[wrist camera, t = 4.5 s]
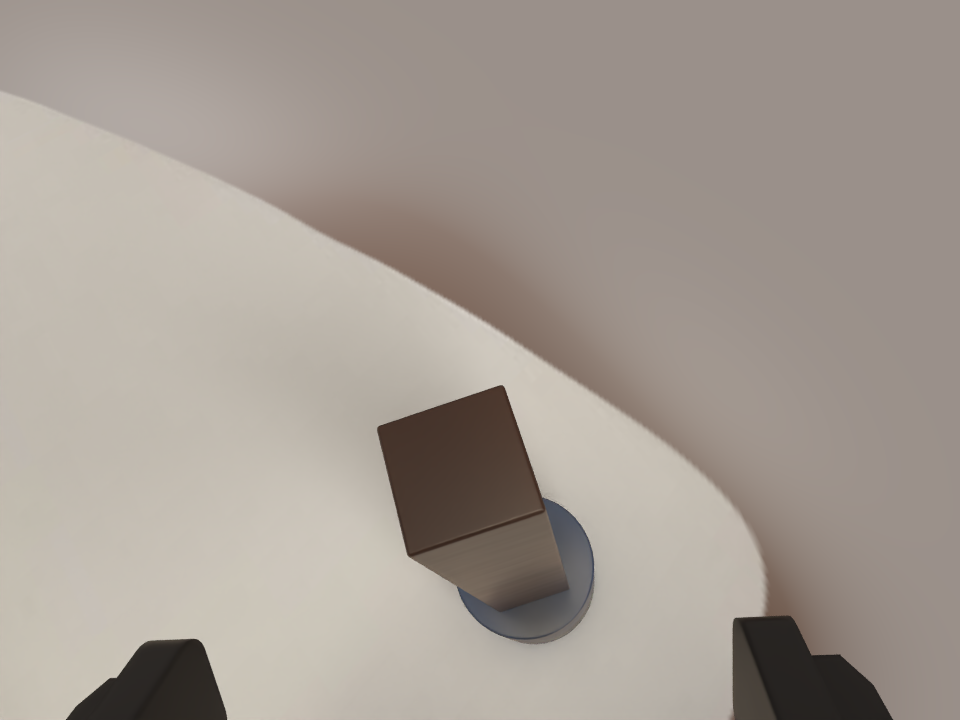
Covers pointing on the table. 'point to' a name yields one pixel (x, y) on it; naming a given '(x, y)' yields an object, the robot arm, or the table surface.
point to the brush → (487, 518)
